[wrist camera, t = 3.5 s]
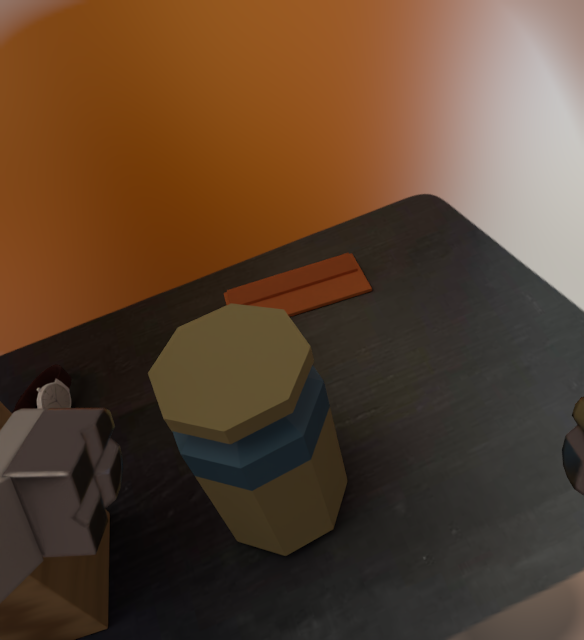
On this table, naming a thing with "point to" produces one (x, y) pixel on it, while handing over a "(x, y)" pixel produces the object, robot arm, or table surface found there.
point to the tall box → (59, 594)
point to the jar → (254, 424)
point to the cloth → (305, 286)
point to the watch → (47, 390)
